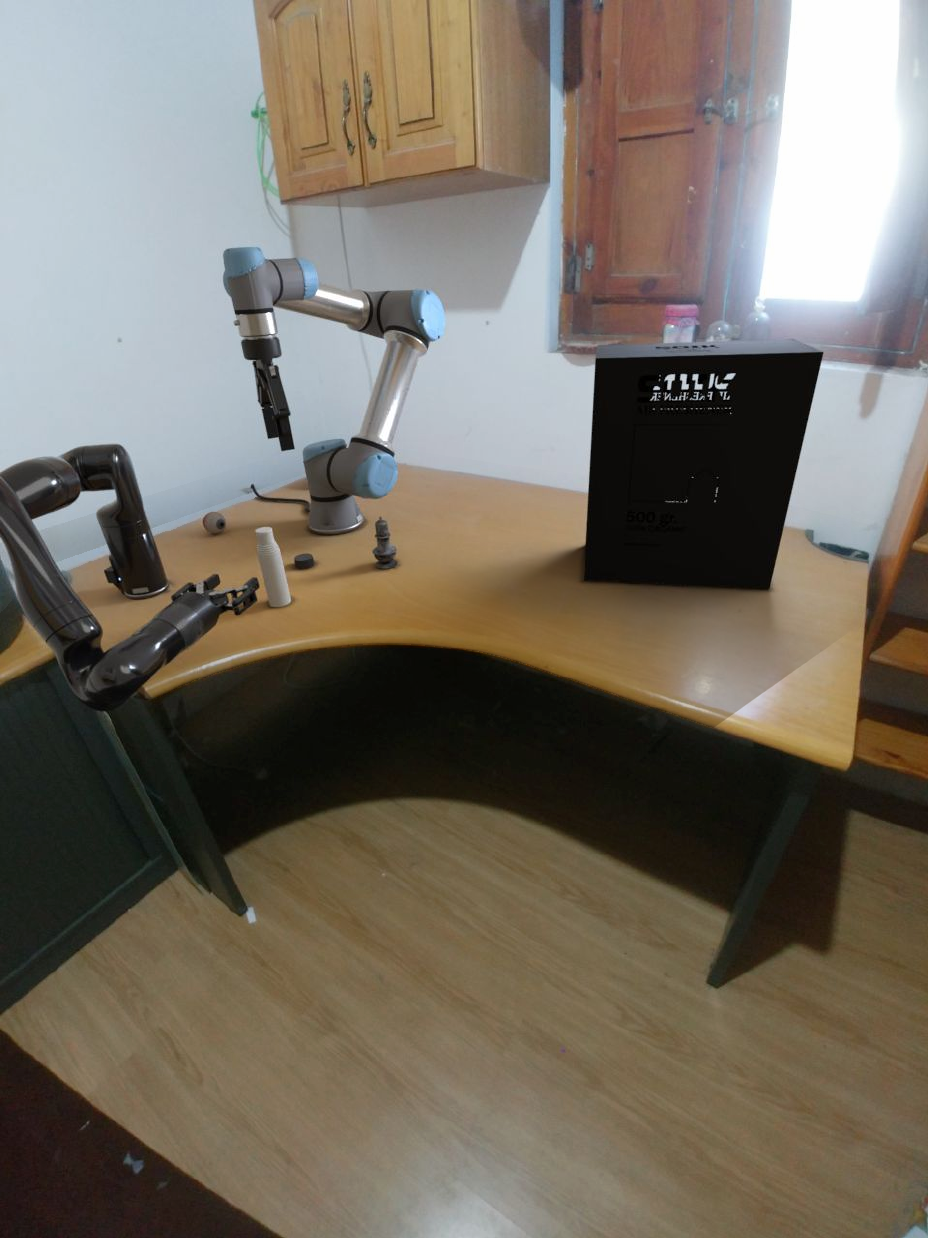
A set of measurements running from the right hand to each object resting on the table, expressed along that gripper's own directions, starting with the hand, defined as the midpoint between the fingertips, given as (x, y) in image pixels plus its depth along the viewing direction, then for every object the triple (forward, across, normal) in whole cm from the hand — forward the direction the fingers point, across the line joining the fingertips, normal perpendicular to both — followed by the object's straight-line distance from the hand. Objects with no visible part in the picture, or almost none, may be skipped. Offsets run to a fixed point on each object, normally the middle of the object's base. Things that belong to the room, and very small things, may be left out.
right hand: (280, 443), depth 132 cm
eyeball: (+29, -36, -16) cm, 49 cm away
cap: (+28, 0, 0) cm, 28 cm away
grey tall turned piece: (+29, +11, +17) cm, 36 cm away
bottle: (+29, +16, -10) cm, 35 cm away
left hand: (+18, +25, -18) cm, 35 cm away
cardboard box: (+29, +48, +71) cm, 91 cm away
